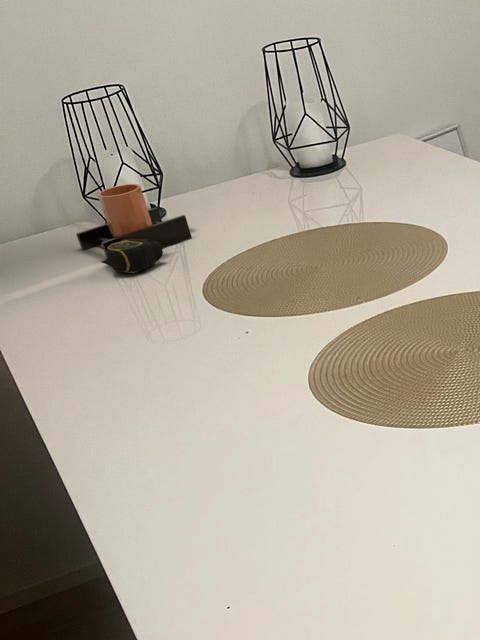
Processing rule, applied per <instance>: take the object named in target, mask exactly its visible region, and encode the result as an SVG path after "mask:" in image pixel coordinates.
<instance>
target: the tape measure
mask: <svg viewBox="0 0 480 640" xmlns="http://www.w3.org/2000/svg"><path fill="white" fill-rule="evenodd" d="M106 252H107V258H108V262H109V264H110V265H109V266H110V268H112V270H113V271H115V272H117V273H126V274H137V273H138V272H140V271H141V270H145V269H148V268H149V267H151V266H152V265H154V264H155V263H157V262H158V261H159V260H160V259H161V258H162V257H163V255H164V252H163V248H162V247H161V245H160V243H159V242H157V241H153V240H146V239H124V240H122V241H121V242H117V243H114V244H111V245H110V246H109V247H108V248H107V250H106ZM107 258H106V259H107Z"/></svg>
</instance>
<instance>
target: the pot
mask: <svg viewBox="0 0 480 640" xmlns="http://www.w3.org/2000/svg"><path fill="white" fill-rule="evenodd" d="M97 198H98V200H99V203H100V206H101V209H102V212H103V215H104V217H105V220H106V224H107V223H108V226H109V229H110V232H111V234H112V236H113V237H115V238H116V237H119V236H122V235H125V234H128V233H131V232H134V231H137V230H140V229H143V228H146V227H149V226H152V225H153V224H152V220H151V217H150V214H149V211H148V210H149V209H148V205H147V202H146V199H145V196H144V193H143V190H142V186H141V184H137V183H126V184H121V185H116V186H112V187H108V188H105V189H103V190H101V191H100V192H97Z"/></svg>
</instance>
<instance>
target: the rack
mask: <svg viewBox="0 0 480 640" xmlns="http://www.w3.org/2000/svg"><path fill="white" fill-rule="evenodd" d="M148 211H149V214H150V217H151V220H152V224H153V225H152V226H149V227H146V228H143V229H140V230H137V231H134V232H131V233H128V234H125V235H122V236H119V237H116V238H115V237H113V236H112V234H111V232H110V229H109V226H108V223H107V222H106V223H104V224H100V225H98V226H95V227H92V228H89V229H86V230H82V231H79V232H77V233H75V235H76V238H77V241H78V243H79V246H80V249H81V251H83V252H85V251H88V250H90V249H94V248H99V249H102V250H103V253H104V255H105V258H106V259H105V260H101V261H100V263H102V264H105V265H107V266H110V264H109V262H108V258H107V252H106V250H107V248H108V247H109V246H110V245H111V244H114V243H117V242H121V241H122V240H124V239H146V240H153V241H157V242H159V243H160V245H161V247H162V249H165V248H168V247H171V246H174V245H177V244H180V243H182V242H185V241H188V240H190V239H193V236H192V233H191V230H190V227H189V223H188V220H187V217H186V215H185V214H182V215H179V216H175V217H173V218H170V219H167V220H164V221H163V220H162V217H161V214H160V213H161V212H160V210H159V208H158V207H153V208H149V209H148Z"/></svg>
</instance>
